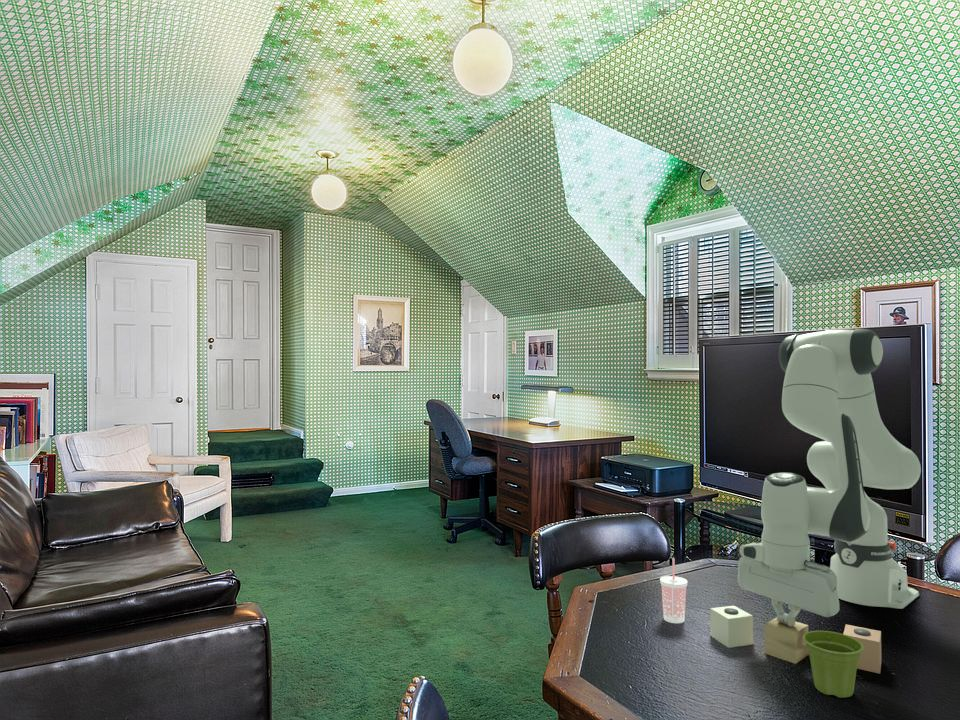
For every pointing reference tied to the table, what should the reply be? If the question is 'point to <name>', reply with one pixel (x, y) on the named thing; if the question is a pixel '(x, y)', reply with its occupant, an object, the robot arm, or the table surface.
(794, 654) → the oak block
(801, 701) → the table surface
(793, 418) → the robot arm
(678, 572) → the table surface
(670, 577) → the beverage cup
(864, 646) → the dot block tan
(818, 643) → the plant pot
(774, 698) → the table surface
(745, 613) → the dot block cream
